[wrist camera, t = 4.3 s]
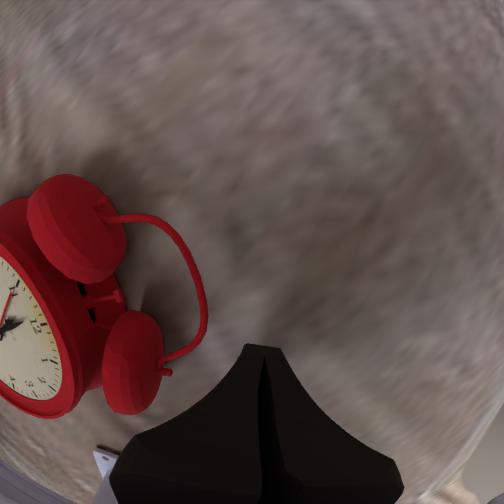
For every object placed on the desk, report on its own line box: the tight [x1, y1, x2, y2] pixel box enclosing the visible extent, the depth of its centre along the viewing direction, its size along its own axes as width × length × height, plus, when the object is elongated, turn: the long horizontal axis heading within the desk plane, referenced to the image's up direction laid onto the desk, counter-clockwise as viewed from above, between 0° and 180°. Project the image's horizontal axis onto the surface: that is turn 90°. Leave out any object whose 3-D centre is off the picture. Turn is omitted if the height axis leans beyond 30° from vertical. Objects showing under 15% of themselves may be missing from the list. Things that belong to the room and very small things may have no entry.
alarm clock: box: [0, 174, 208, 419], centre depth 10 cm, size 10×6×15 cm
